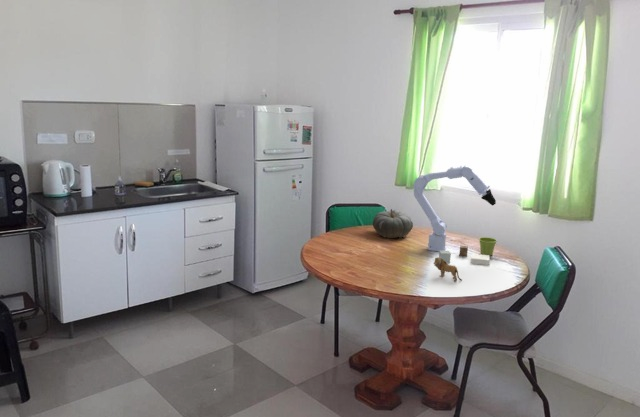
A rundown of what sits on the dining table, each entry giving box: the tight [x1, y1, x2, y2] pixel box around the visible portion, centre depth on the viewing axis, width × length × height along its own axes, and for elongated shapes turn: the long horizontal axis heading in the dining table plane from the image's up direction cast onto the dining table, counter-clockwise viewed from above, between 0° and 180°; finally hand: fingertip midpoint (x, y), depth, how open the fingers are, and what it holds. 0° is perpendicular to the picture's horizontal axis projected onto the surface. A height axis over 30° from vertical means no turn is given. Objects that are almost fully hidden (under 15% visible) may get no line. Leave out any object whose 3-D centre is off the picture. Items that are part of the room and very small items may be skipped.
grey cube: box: [438, 250, 452, 264], centre depth 262 cm, size 5×5×5 cm
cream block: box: [470, 253, 490, 266], centre depth 262 cm, size 9×9×3 cm
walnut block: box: [459, 245, 469, 258], centre depth 272 cm, size 4×4×5 cm
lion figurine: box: [433, 256, 463, 282], centre depth 236 cm, size 15×5×9 cm, turn 50°
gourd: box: [372, 208, 414, 239], centre depth 308 cm, size 25×25×17 cm
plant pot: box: [478, 236, 498, 257], centre depth 273 cm, size 9×9×9 cm
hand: (494, 203), depth 266 cm, fingers open, 7 cm apart
